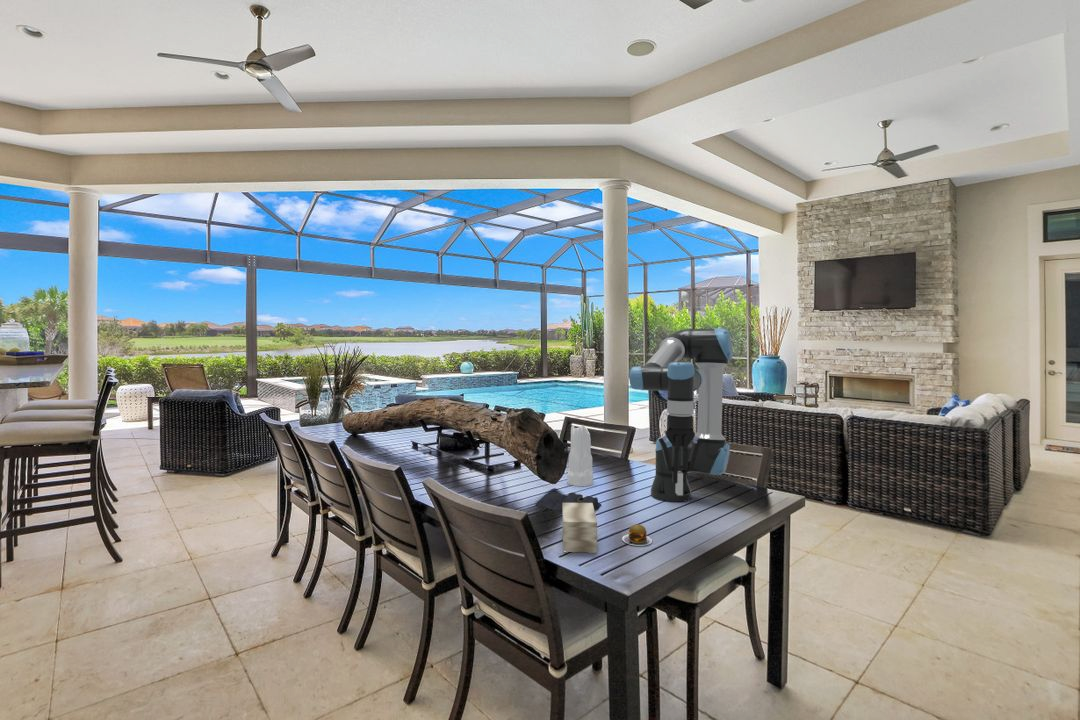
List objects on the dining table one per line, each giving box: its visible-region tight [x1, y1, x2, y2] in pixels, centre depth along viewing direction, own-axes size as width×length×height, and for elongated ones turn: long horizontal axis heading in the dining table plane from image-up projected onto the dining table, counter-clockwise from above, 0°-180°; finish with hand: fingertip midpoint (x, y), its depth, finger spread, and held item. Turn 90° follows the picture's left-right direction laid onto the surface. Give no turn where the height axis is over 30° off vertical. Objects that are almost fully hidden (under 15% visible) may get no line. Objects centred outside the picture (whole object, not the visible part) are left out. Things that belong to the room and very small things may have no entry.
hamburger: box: [621, 523, 653, 547], centre depth 152 cm, size 12×12×6 cm
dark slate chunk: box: [534, 491, 602, 513], centre depth 184 cm, size 15×22×5 cm
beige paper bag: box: [561, 503, 598, 554], centre depth 151 cm, size 10×17×9 cm, turn 178°
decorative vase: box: [567, 424, 594, 487], centre depth 213 cm, size 11×11×25 cm
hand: (679, 493), depth 150 cm, fingers closed
